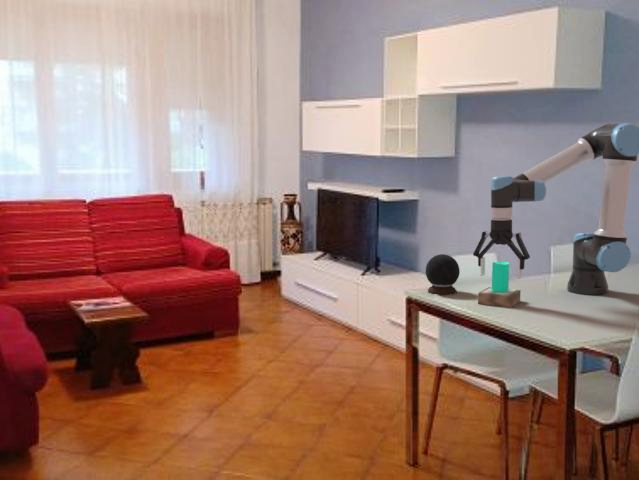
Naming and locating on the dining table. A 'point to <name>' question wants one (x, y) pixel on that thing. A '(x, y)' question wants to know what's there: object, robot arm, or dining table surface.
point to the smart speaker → (442, 274)
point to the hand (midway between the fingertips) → (500, 276)
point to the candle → (500, 277)
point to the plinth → (499, 297)
